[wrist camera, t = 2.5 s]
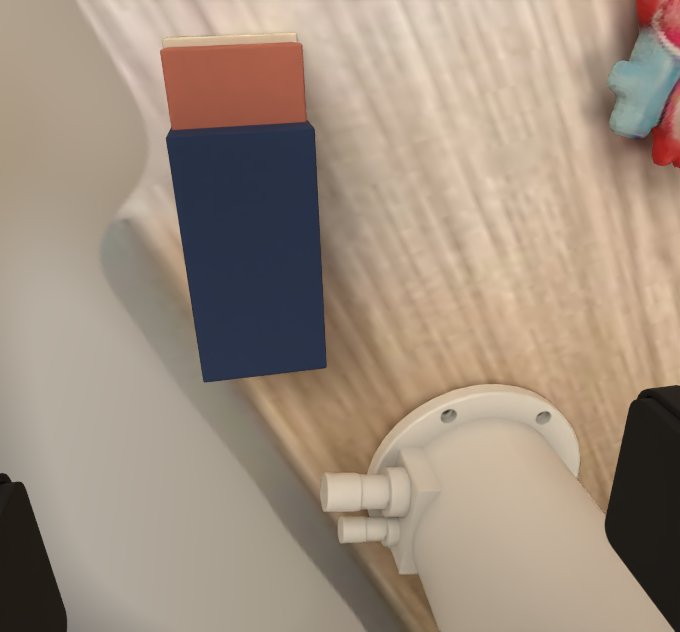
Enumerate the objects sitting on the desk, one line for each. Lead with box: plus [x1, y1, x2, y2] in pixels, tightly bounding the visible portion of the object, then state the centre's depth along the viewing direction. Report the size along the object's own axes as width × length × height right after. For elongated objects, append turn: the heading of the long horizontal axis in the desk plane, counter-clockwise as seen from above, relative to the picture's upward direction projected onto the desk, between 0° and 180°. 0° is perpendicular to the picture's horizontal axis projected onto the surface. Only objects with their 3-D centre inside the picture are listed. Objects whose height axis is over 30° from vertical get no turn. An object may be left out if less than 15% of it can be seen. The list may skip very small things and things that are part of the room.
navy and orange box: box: [160, 33, 327, 382], centre depth 24 cm, size 13×5×5 cm, turn 2°
